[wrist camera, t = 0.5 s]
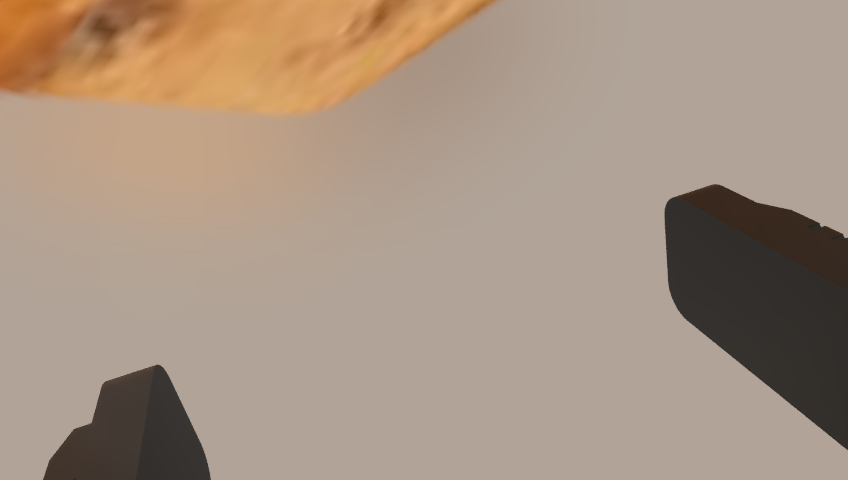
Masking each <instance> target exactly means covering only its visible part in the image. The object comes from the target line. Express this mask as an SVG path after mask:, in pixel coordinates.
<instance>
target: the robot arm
mask: <svg viewBox="0 0 848 480" xmlns="http://www.w3.org/2000/svg"><path fill="white" fill-rule="evenodd" d="M665 233H666V250H667V267H668V283H669V289H670V293H671V296H672V299H673V301H674V303H675V305H676V307H677V309H678V310H679V312H680V313H681V314H682V316H683V317H684V318H685V319H686V320H687V321H689V322H690V323H691V324H692V325H694V326H695V327H696V328H697V329H699V330H700V331H701V332H702V333H703V334H705V335H706V336H707V337H709V338H710V339H711V340H712V341H713V342H715V343H716V344H717V345H718V346H720V347H721V348H722V349H723V350H724V351H726V352H727V353H728V354H730V355H731V356H732V357H733V358H735V359H736V360H737V361H738V362H739V363H741V364H742V365H743V366H744V367H745V368H747V369H748V370H749V371H750V372H752V373H753V374H754V375H755V376H757V377H758V378H759V379H760V380H762V381H763V382H764V383H765V384H767V385H768V386H769V387H770V388H772V389H773V390H774V391H775V392H777V393H778V394H779V395H780V396H781V397H783V398H784V399H785V400H786V401H788V402H789V403H790V404H791V405H792V406H794V407H795V408H796V409H797V410H799V411H800V412H801V413H802V414H804V415H805V416H806V417H807V418H809V419H810V420H811V421H812V422H814V423H815V424H816V425H817V426H818V427H820V428H821V429H822V430H823V431H825V432H826V433H827V434H828V435H830V436H831V437H832V438H833V439H835V440H836V441H837V442H838V443H839V444H841V445H842V446H843V447H845V448H846V449H847V450H848V238H844V236H843V234H842V233H839V232H837V231H835V230H833V229H831V228H829V227H827V226H824V227H821V226H820V223H818V222H816V221H814V220H812V219H809V218H807V217H805V216H803V215H801V214H799V213H797V212H794V211H792V210H788V209H784V208H779V207H774V206H770V205H765V204H760V203H756V202H754V201H752V200H750V199H748V198H746V197H744V196H742V195H740V194H738V193H736V192H734V191H732V190H729V189H727V188H725V187H723V186H721V185H716V184H715V185H710V186H707V187H704V188H701V189H698V190H695V191H692V192H689V193H686V194H683V195H679V196H677V197H673V198H671V199H670V200H669V201H668V202H667V204H666V207H665ZM43 480H211V479H210V472H209V468H208V463H207V460H206V456H205V453H204V450H203V448H202V445H201V443H200V441H199V439H198V437H197V435H196V432H195V431H194V428H193V426H192V424H191V422H190V420H189V418H188V416H187V413H186V411H185V409H184V407H183V405H182V403H181V401H180V399H179V397H178V395H177V392H176V390H175V388H174V386H173V384H172V382H171V380H170V378H169V376H168V374H167V373H166V371H165V370H164V368H163V367H162V366H160V365H155V366H152V367H149V368H146V369H143V370H140V371H136V372H133V373H130V374H127V375H124V376H121V377H118V378H115V379H112V380H109V381H106V382H104V384H103V385H102V388H101V391H100V395H99V398H98V402H97V406H96V410H95V413H94V417H93V421H92V423H91V424H88V425H85V426H82V427H79V428H76V429H74V430H73V431H72V432H71V434H70V435H69V436H68V437H67V439H66V440H65V441H64V443H63V444H62V445H61V446H60V448H59V449H58V450H57V451H56V453H55V454H54V455H53V457H52V458H51V459H50V461H49V464H48V467H47V470H46V473H45V476H44V479H43Z"/></svg>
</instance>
